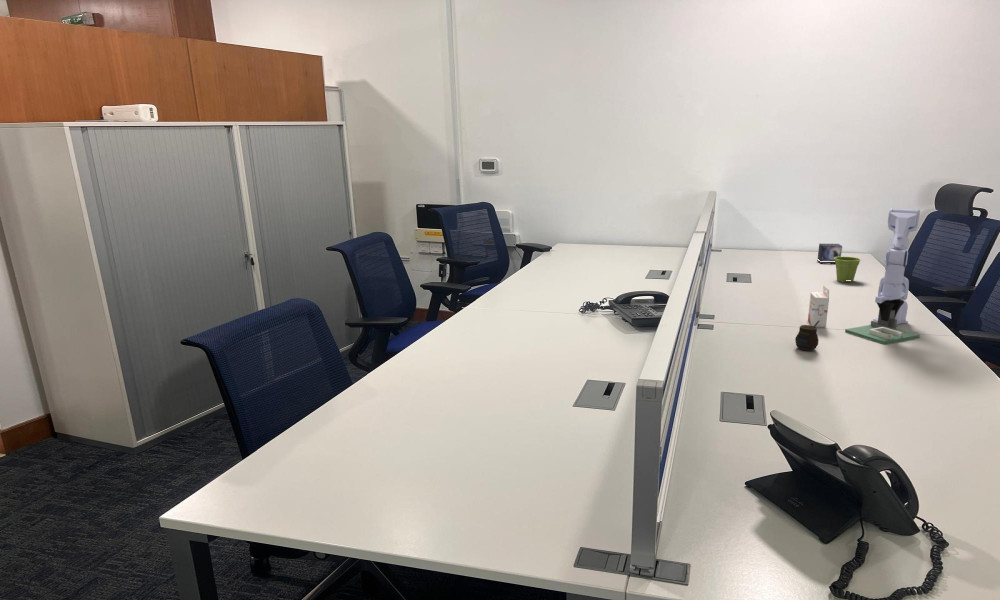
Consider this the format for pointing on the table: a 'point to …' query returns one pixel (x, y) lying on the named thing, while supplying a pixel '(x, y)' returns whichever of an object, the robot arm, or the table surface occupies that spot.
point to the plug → (890, 322)
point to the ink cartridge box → (818, 308)
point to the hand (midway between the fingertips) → (887, 319)
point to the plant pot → (846, 268)
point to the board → (882, 333)
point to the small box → (829, 252)
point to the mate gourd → (807, 337)
